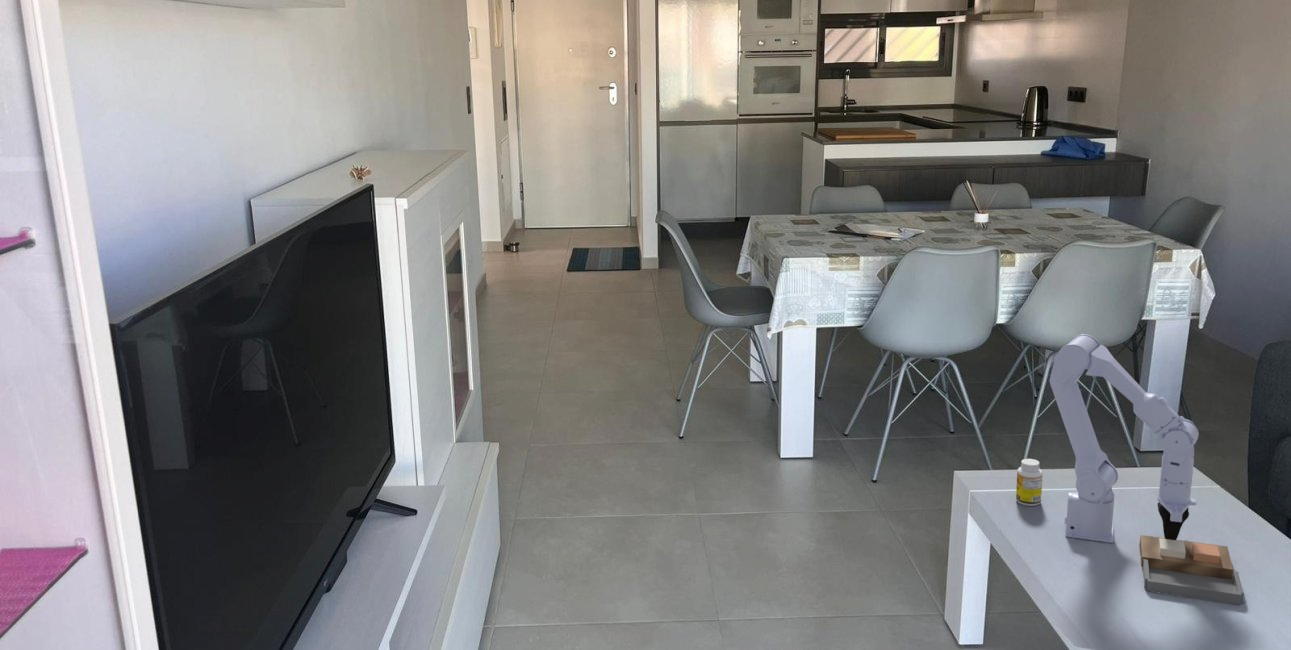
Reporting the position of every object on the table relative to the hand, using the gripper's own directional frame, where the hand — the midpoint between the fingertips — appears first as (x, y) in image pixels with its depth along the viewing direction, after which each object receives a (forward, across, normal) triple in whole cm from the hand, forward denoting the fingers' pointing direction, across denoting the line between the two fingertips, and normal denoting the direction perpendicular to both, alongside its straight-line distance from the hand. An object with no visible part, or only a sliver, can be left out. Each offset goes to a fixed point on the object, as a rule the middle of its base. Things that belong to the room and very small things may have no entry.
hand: (1170, 538), depth 203 cm
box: (+3, -14, -3) cm, 14 cm away
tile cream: (0, -5, 0) cm, 5 cm away
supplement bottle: (+3, +16, +28) cm, 33 cm away
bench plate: (+3, -4, -2) cm, 6 cm away
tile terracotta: (0, -5, -6) cm, 8 cm away
